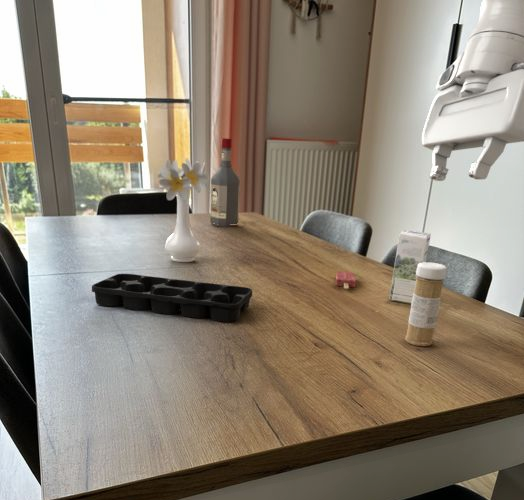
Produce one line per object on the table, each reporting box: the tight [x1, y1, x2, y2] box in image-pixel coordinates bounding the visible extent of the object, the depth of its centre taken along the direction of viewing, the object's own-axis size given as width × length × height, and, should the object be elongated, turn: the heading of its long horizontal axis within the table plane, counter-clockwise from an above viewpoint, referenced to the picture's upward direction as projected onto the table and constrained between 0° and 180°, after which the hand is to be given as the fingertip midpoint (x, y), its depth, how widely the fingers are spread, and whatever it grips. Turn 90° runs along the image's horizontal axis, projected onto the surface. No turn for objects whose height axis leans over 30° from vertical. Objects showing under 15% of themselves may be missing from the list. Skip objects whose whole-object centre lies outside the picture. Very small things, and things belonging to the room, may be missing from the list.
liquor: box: [209, 137, 241, 228], centre depth 187 cm, size 9×9×30 cm
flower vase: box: [157, 157, 211, 263], centre depth 130 cm, size 13×18×25 cm
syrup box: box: [388, 229, 431, 305], centre depth 109 cm, size 6×6×14 cm
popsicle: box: [335, 270, 357, 290], centre depth 121 cm, size 4×2×15 cm
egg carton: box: [91, 273, 253, 323], centre depth 98 cm, size 18×30×4 cm, turn 89°
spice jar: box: [404, 261, 448, 347], centre depth 85 cm, size 5×5×13 cm
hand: (455, 179), depth 70 cm, fingers open, 8 cm apart
